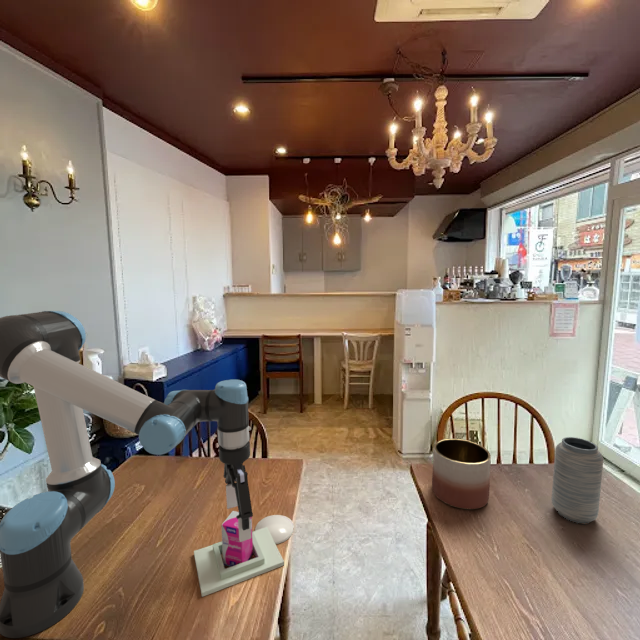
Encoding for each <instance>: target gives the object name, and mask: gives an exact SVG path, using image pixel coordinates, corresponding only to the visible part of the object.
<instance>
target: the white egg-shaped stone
mask: <svg viewBox="0 0 640 640" xmlns="http://www.w3.org/2000/svg"><path fill="white" fill-rule="evenodd" d="M265 527H267V528H268V530H269V532H270V534H271V536H272V538H273V540H274V542H275V544H276V545H278V544H282V543H285V542H286V541H287V540H289V539H290V538H291V537H292V535H293V534H292V533H294V532H295V531H294V530H295V527H294V522H293V520H291V518H289V517H288V516H285V515H283V514H273V515H268V516H265V517H264V518H262V519H260V520H259V521H258V522H257V524H256V525H255V527H254V531H256V530H259V529H262V528H265ZM293 528H294V530H293Z"/></svg>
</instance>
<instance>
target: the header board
mask: <svg viewBox="0 0 640 640" xmlns="http://www.w3.org/2000/svg"><path fill="white" fill-rule="evenodd" d="M252 542H253V554H254V556H255V557H254V558H250V559H249V561H246V562H243V563H240V564H238V565H235V566H232V567H230V566H228V567H227V568H225V565H224V564H223V556H222V554H223V551H222V540H221V541H219V542H216V543H213V544H212V545H208V546H205V547H202V548H199V549H195V550H193V556H194V561H195V562H194V563H195V567H196V572H197V573H196V574H197V577H198V583H199V588H200V593H201V597H203V598H204V597H205V596H209V595H210V594H214V593H216V592H219V591H222V590H224V589H227V588H229V587H231V586H235V585H237V584H239V583H241V582H244V581H247V580H249V579H252V578H254V577H255V578H256V577H257V576H260V575H262V574H265V573H268V572H270V571H272V570H275V569H278V568H280V567H283V566H285V560H284V558H283V556H282V554H281V553H280V550H279V549H278V547H277V544H275V542H274V540H273V538H272V536H271V534H270V532H269V530H268V528H267V527H265V528H262V529H259V530H256V531H255V530H252Z"/></svg>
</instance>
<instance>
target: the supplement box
mask: <svg viewBox="0 0 640 640" xmlns="http://www.w3.org/2000/svg"><path fill="white" fill-rule="evenodd" d="M238 515H239V511H236V510H232V511H231V513H230V514H229V515H228V516H227V518H226V519H225V520H224V521H223V522H222V524H221V541H222V551H223V553H222V561H223V564H224V566H228V567H232V566H235V565H238V564H240V563H243V562H246V561H249V560H251V558H252V556H253V554H254V553H253V542H252V531H253V517H250V523H251V539H248V540H245V541H242V542H240V541H239V526H238V519H237V518H236V516H238Z"/></svg>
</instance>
